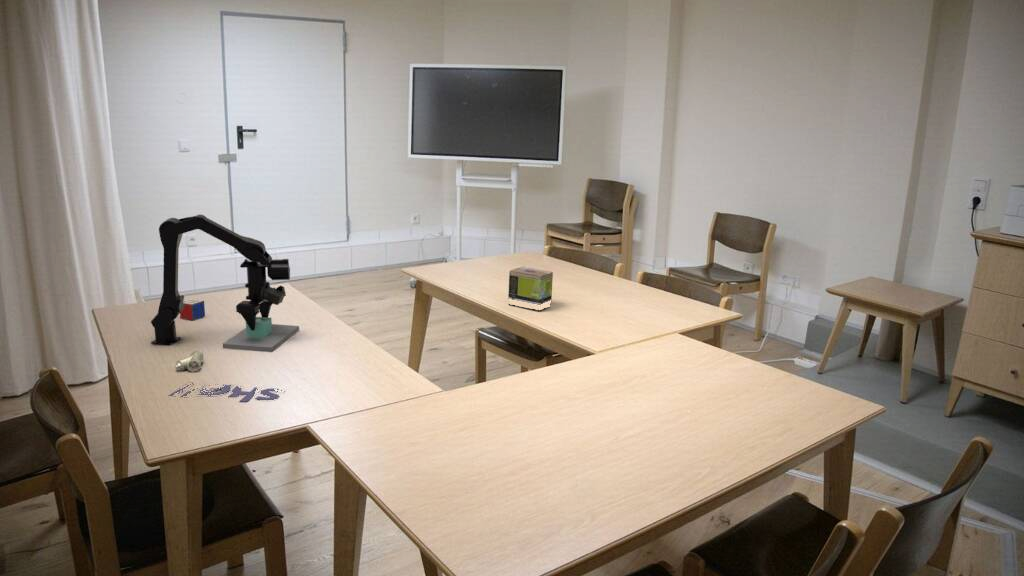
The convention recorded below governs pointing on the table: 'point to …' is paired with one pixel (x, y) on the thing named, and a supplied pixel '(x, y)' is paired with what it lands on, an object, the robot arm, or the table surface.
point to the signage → (235, 393)
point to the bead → (260, 328)
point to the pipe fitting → (190, 362)
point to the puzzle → (193, 309)
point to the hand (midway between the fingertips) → (259, 325)
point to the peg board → (262, 339)
